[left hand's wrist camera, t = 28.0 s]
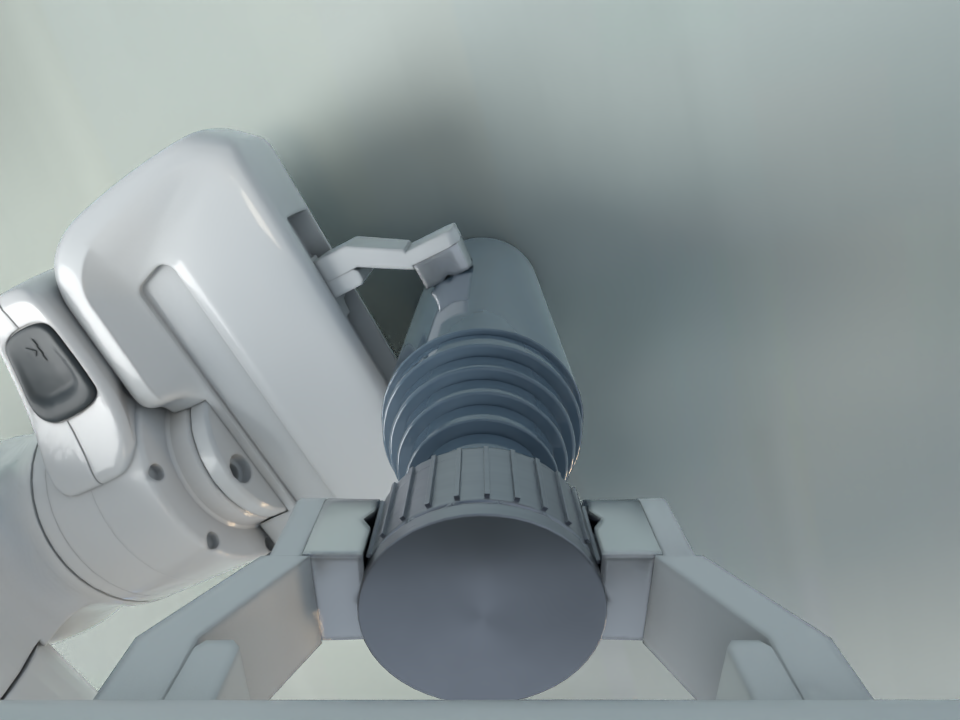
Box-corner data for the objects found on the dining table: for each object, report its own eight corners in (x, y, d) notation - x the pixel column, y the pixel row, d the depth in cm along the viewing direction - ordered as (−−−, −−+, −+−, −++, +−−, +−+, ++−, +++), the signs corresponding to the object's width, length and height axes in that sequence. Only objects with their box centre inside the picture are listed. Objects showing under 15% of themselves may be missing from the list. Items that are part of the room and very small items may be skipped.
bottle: (487, 212, 25) (497, 383, 8) (562, 298, 26) (700, 592, 10) (402, 289, 26) (261, 572, 9) (477, 367, 27) (471, 731, 11)
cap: (435, 404, 10) (424, 467, 8) (632, 500, 10) (663, 577, 9) (340, 569, 11) (312, 654, 9) (520, 643, 12) (528, 735, 10)
